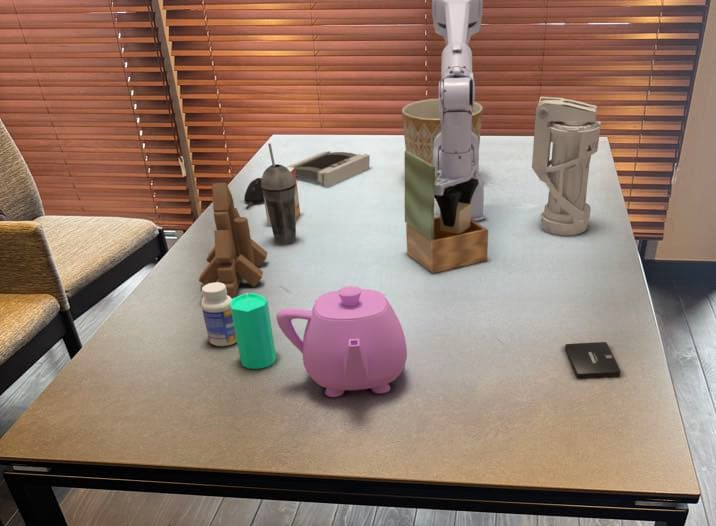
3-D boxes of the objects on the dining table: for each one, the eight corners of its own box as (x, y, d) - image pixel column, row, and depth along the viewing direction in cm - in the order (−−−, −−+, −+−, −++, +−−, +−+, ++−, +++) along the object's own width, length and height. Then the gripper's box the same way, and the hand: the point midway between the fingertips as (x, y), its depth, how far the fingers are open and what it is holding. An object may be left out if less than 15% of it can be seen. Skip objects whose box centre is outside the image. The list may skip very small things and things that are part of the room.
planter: (466, 164, 208) (467, 94, 197) (491, 187, 194) (494, 113, 183) (395, 173, 205) (392, 103, 194) (416, 197, 191) (414, 122, 180)
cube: (451, 223, 163) (451, 200, 160) (470, 226, 161) (471, 204, 158) (440, 230, 160) (440, 207, 157) (459, 234, 158) (459, 211, 155)
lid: (407, 150, 152) (404, 151, 152) (435, 166, 144) (432, 167, 144) (407, 221, 161) (404, 221, 161) (433, 240, 153) (430, 240, 153)
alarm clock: (327, 173, 196) (278, 157, 203) (327, 192, 199) (279, 176, 206) (369, 154, 206) (321, 140, 213) (369, 173, 210) (322, 158, 216)
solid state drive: (605, 345, 133) (606, 341, 133) (620, 375, 126) (621, 371, 125) (564, 347, 133) (565, 343, 133) (576, 377, 126) (577, 374, 125)
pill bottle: (235, 347, 137) (224, 294, 131) (205, 346, 138) (193, 293, 131) (243, 332, 141) (234, 280, 135) (214, 332, 142) (203, 279, 135)
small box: (290, 227, 179) (284, 178, 172) (267, 226, 180) (260, 177, 173) (301, 214, 185) (295, 166, 178) (278, 213, 186) (272, 165, 179)
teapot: (284, 424, 119) (269, 332, 109) (287, 358, 134) (275, 272, 124) (414, 414, 120) (411, 322, 109) (403, 350, 134) (400, 264, 124)
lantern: (589, 219, 176) (604, 94, 160) (586, 237, 169) (602, 107, 152) (531, 216, 179) (540, 93, 162) (526, 234, 171) (534, 106, 155)
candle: (242, 352, 136) (229, 285, 128) (277, 350, 136) (266, 283, 128) (239, 370, 131) (226, 302, 123) (275, 367, 132) (264, 299, 124)
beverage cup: (308, 236, 174) (297, 138, 161) (291, 249, 169) (278, 148, 156) (280, 232, 177) (266, 135, 163) (262, 244, 172) (247, 145, 159)
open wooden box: (459, 241, 169) (460, 211, 165) (487, 260, 161) (488, 229, 157) (406, 253, 165) (405, 223, 161) (432, 273, 158) (432, 242, 153)
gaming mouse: (234, 208, 189) (231, 191, 187) (259, 187, 200) (256, 171, 197) (259, 209, 188) (256, 192, 185) (282, 189, 199) (279, 172, 196)
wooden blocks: (213, 253, 169) (196, 165, 157) (271, 250, 169) (258, 162, 157) (195, 305, 150) (173, 209, 138) (259, 302, 150) (244, 206, 139)
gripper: (457, 136, 157) (456, 206, 166) (417, 156, 148) (419, 229, 157) (488, 141, 154) (486, 212, 163) (450, 162, 145) (450, 236, 154)
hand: (455, 221), depth 159 cm, fingers closed on cube, 4 cm apart
